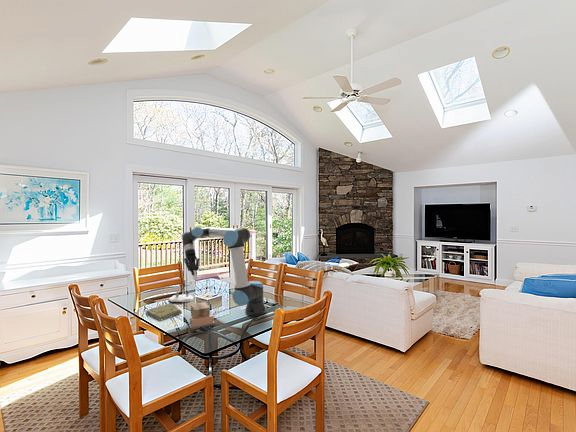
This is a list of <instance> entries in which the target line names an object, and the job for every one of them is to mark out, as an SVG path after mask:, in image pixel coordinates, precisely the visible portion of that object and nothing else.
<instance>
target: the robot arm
mask: <svg viewBox="0 0 576 432" xmlns="http://www.w3.org/2000/svg"><path fill="white" fill-rule="evenodd" d="M206 237H207V238H219V239H223V243H224V244H225V246H227V249H228V250H229V251H230V254H231V259H232V267H233V273H234V280H235V285H234V291H233V293H232V296H231V297H232V300H233V303H235V304H236V305H237V306H239V307H244V306H245V309H244V311H245V314H246V315H248V316H250V317H251V316H253V317H258V316H262V315H264V314H265V313H266V312H267V311H266V305H265V303H264V283H263V282H262V281H258V280H249V279H248V273H247V267H246V261H245V260H246V259H245V253H244V248H245V244H246V243H247V242H249V240H250V238H251V232H250V230H249V229H248V228H246V227H236V228H226V227H225V228H224V227H223V228H222V227H213V226H206V227H200V226H196V227H194V228H192V229H191V230H190V231H185V232H182V234H181V239H182V243H183V250H184V255H185V257H184V258H183V261H184V264H185V266H186V268H187V270H188V272H190V273H191V276H192V278H193V281H196V280H197V279H198V270H199V269H200V266H199V265H200V260H201V259H200V258H198V257H197V255H196V250H195V249H196V248H195V244H194V241H196V240H198V239H201V238H206Z"/></svg>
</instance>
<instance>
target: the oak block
mask: <svg viewBox="0 0 576 432" xmlns="http://www.w3.org/2000/svg"><path fill="white" fill-rule="evenodd" d="M210 310H211V309H210V306H209V305H208V304H207V302H206V301H203V302H198V303H197V302H196V303H191V304H190V315H191V316H192V318H190V321H192V319H193V318H199V317H204V316H209V315H211V313H210V312H211V311H210Z"/></svg>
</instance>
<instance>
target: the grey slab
mask: <svg viewBox="0 0 576 432" xmlns="http://www.w3.org/2000/svg"><path fill="white" fill-rule="evenodd" d="M190 318H192V316H191V314H187V315H184V320H185V319H186V320H187V322H188V323H187V322H186V323H187V325H188V324H189V325H188V327H189V329H190V330H196V329H198V330H199V329H201V328H200V327H202V328H206V327H205V326H207V327H211V326H210V325H212V326H215V325H216V322H215V321H214V315H213V314H210V315H209V316H204V317H199V318H193V319H192V321H190ZM186 320H185V321H186ZM214 324H215V325H214Z"/></svg>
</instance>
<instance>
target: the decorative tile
mask: <svg viewBox="0 0 576 432" xmlns="http://www.w3.org/2000/svg"><path fill="white" fill-rule="evenodd" d="M147 313H148V314H147ZM179 313H180V314H182V310H181V308H178V307H177V306H176V305H175V304H172V303H166V304H162V305H159V306H158V305H157V306H156V307H151V308H150V309H147V310H146V314H147V315H149V314H150V315H149V316H151V315H152V316H151V317H153V316H154V318H155V317H156V318H155V319H157V318H158V319H157V320H159V319H160V320H159V321H162V320H161V319H163V320H165V318H166V319H168V317H169V318H171V316H172V317H174V315H175V316H177V315H180V314H179Z"/></svg>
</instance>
